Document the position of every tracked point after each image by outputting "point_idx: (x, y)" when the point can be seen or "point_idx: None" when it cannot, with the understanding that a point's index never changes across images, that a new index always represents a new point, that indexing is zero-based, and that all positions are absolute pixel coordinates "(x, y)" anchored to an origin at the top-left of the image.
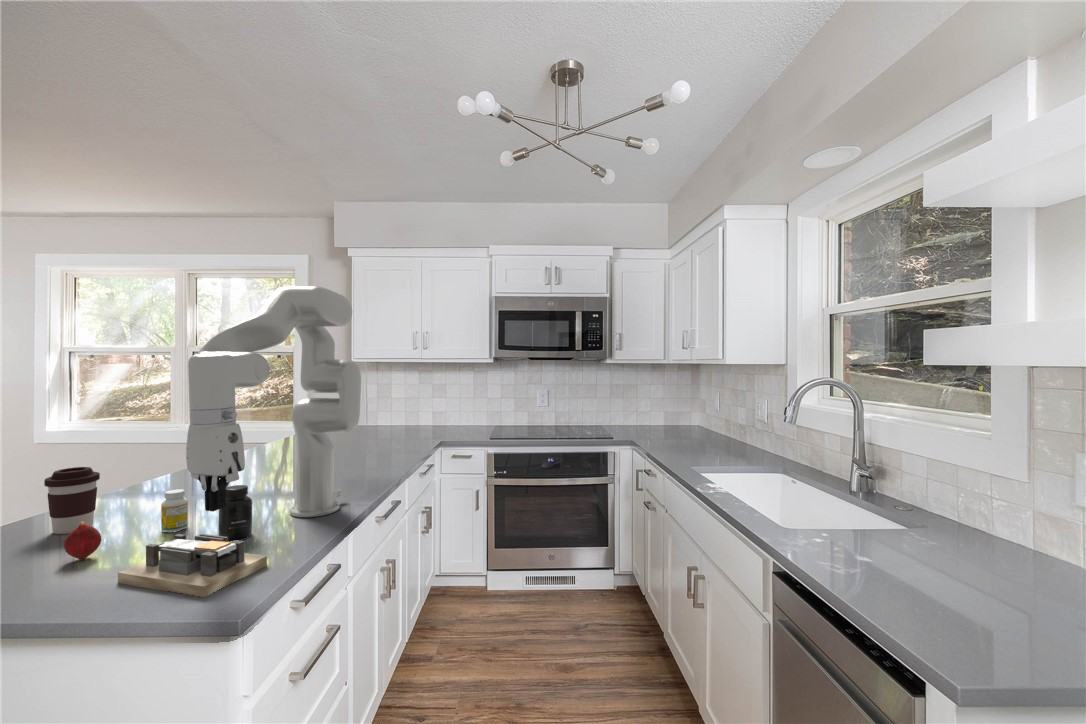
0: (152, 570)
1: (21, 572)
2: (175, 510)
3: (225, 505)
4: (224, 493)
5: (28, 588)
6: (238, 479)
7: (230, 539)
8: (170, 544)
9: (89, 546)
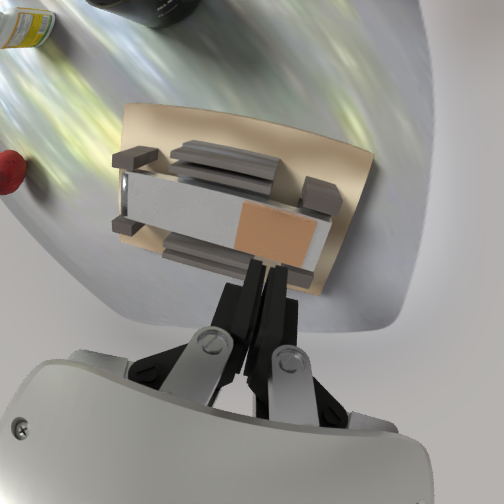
0: (166, 233)
1: (16, 209)
2: (18, 34)
3: (287, 270)
4: (295, 335)
5: (56, 248)
6: (393, 424)
7: (175, 22)
8: (145, 209)
9: (19, 177)
